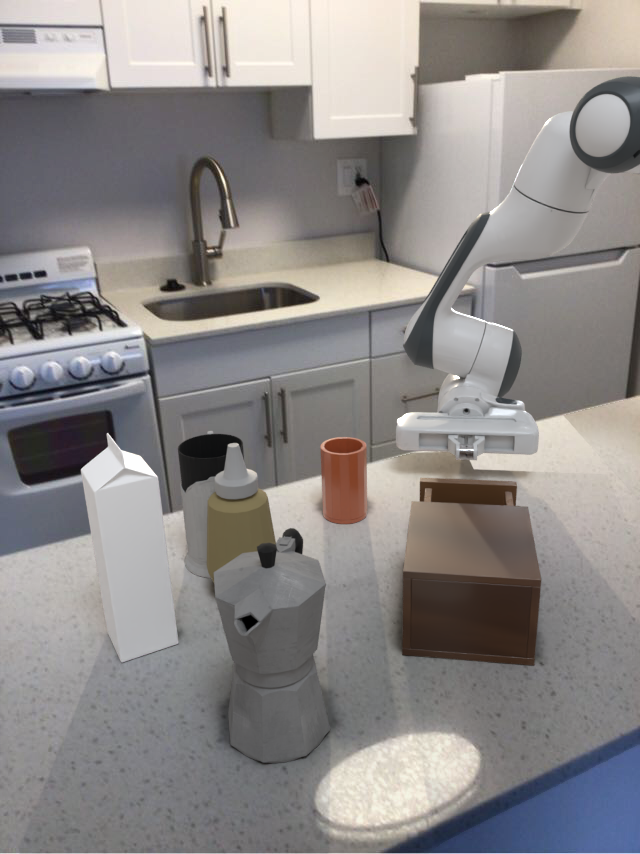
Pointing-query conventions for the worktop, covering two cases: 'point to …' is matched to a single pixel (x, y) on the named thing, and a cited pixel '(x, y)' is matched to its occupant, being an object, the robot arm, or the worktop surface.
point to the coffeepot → (273, 649)
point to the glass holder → (200, 490)
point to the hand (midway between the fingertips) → (466, 455)
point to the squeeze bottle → (236, 513)
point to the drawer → (468, 491)
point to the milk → (130, 552)
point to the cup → (344, 479)
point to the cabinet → (470, 583)
